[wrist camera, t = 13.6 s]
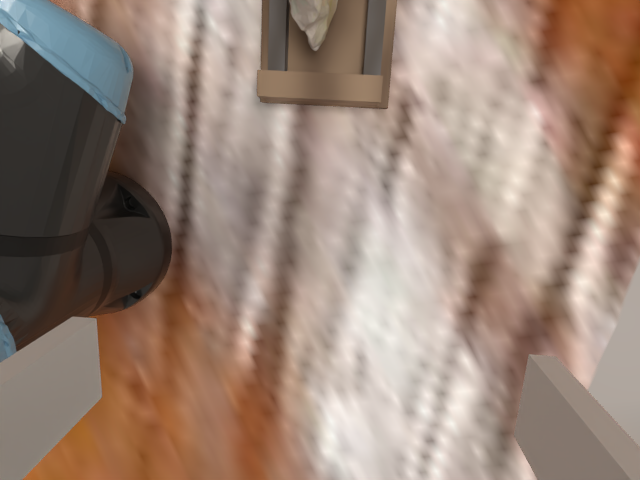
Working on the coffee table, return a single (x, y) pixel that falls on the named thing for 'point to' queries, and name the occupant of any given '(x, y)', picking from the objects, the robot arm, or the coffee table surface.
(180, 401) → the coffee table surface
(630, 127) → the coffee table surface
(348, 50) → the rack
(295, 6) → the stone tool
